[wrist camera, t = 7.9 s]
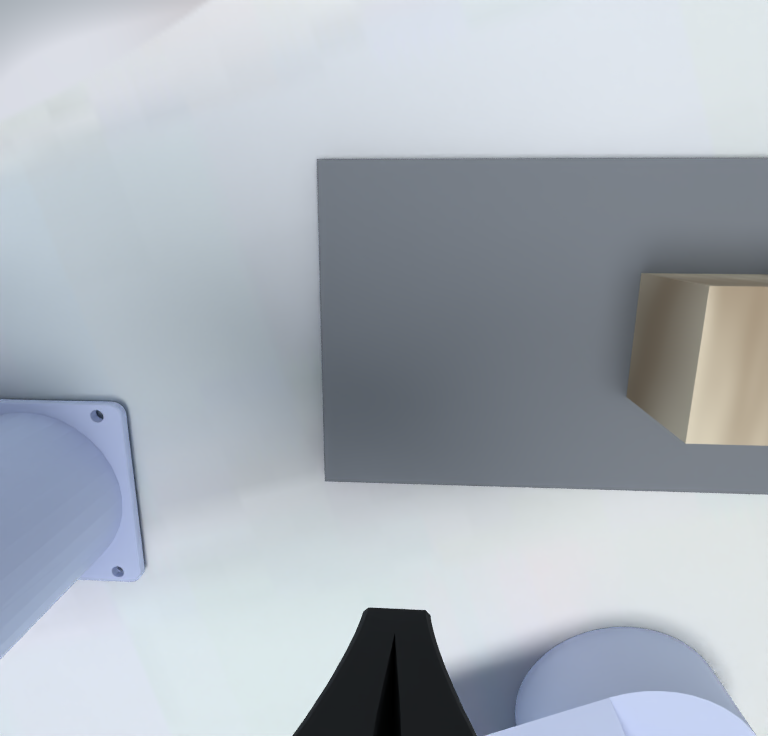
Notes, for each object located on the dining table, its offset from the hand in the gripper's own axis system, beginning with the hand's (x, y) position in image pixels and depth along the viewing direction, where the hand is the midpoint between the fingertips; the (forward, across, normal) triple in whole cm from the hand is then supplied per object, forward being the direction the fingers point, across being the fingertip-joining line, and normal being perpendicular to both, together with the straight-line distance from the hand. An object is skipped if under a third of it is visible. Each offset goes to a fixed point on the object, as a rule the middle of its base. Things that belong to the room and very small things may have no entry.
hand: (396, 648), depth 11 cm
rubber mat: (+10, -8, -5) cm, 14 cm away
